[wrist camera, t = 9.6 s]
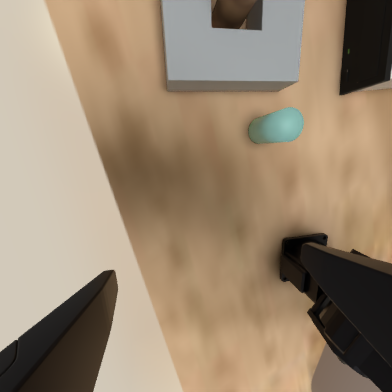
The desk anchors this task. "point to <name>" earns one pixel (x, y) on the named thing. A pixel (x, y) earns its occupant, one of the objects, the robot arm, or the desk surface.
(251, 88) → the block
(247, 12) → the walnut pin
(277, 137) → the teal pin
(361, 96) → the desk surface
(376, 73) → the disc drive
